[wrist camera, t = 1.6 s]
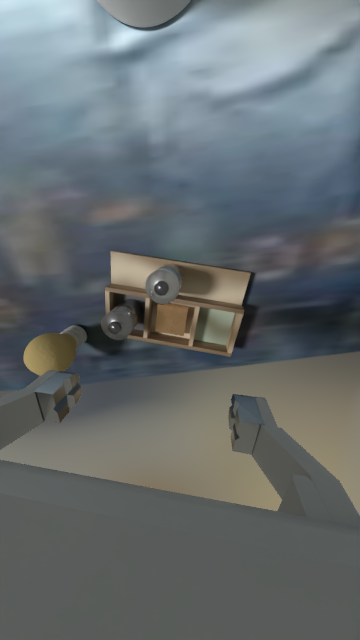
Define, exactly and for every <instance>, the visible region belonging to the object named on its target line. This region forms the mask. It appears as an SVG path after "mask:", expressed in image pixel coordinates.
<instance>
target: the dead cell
mask: <svg viewBox="0 0 360 640" xmlns="http://www.w3.org/2000/svg"><path fill="white" fill-rule="evenodd" d="M143 316H144V309H143V306H142V305H141V304H140V303H139V302H138V301H137V300H134V299H126V300H124V301H123V302H122V303H120V304H119V305H118V306H116V307H115V308H114V309H112V310H111V311H110V312H109V313H107V314H106V315H105V316H104V317H103V318H102V321H101V327H102V330H103V331H104V333H105V334H106V335H107V336H108V337H110V338H112V339H114V340H123V339H125V338H127V337H128V336H129V334H130V333H131V332H132V330H133V329H134V328H135V327H136V325H137V324H138V323H139V322H140V320H141V319H142V318H143Z"/></svg>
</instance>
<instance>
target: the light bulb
mask: <svg viewBox="0 0 360 640" xmlns="http://www.w3.org/2000/svg"><path fill="white" fill-rule="evenodd" d="M86 339H87V334H86V332H85V330H84V329H83V328H81V327H80V326H76V325H73V326H70V327H69V328H67V329H66V330H64V331H63V332H61V333H60V334H59V333H47V334H43V335H40V336H38V337H36V338H34V339H33V340H32V341H31V342H30V343H29V344H28V346H27V347H26V349H25V352H24V363H25V365H26V366H27V368H28V369H30V370H31V371H32V372H34V373H36V374H38V375H41V376H42V375H43V374H44V373H45V372H47V371H49V370H55V371H65V370H66V369H67V368H69V366H70V365H71V364H72V362H73V361H74V358H75V354H76V349H77V348H78V347H79V346H81V345H82V344H83V343H84V342H85V341H86Z"/></svg>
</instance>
